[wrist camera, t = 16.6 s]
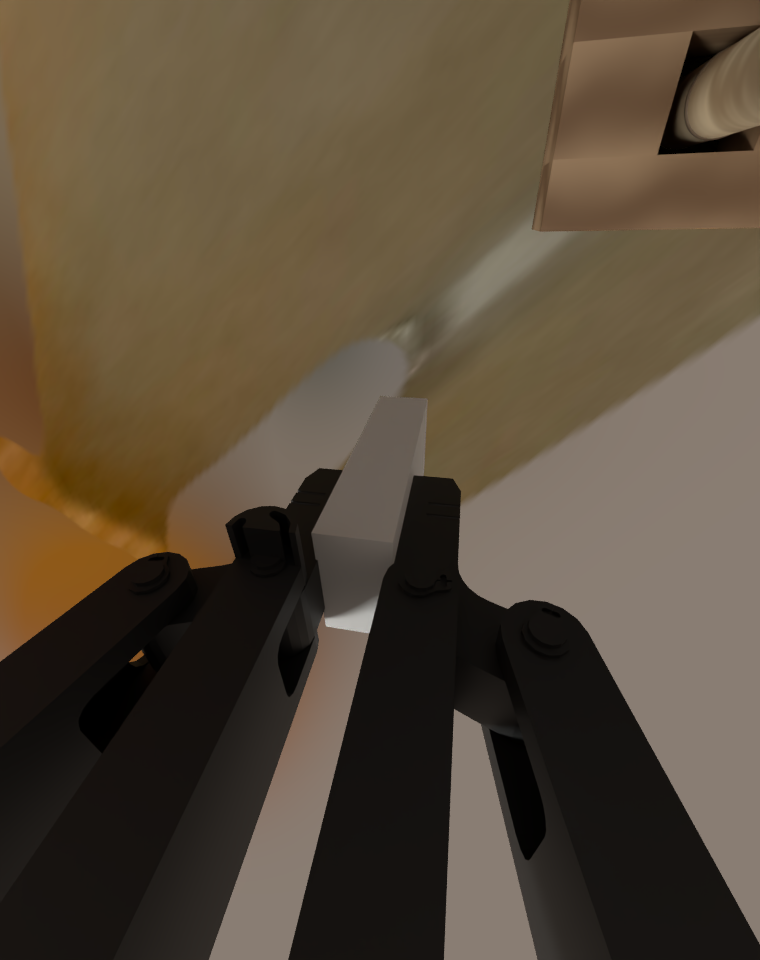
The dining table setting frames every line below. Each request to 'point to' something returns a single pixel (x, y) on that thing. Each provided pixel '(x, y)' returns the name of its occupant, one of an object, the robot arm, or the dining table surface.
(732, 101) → the dowel
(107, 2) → the dining table surface
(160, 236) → the dining table surface
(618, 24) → the board
